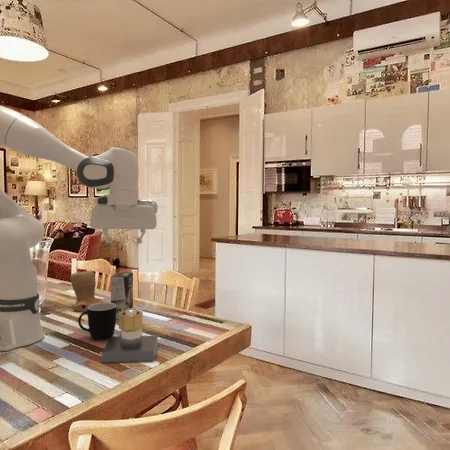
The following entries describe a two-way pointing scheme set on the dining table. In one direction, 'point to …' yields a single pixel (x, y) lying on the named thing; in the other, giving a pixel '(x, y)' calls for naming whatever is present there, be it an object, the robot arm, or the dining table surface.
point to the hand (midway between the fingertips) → (124, 243)
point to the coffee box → (122, 291)
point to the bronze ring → (130, 321)
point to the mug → (100, 320)
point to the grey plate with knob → (130, 345)
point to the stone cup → (84, 290)
